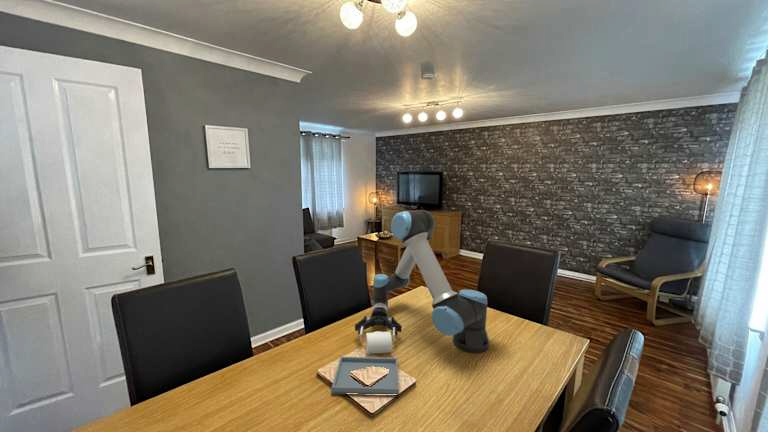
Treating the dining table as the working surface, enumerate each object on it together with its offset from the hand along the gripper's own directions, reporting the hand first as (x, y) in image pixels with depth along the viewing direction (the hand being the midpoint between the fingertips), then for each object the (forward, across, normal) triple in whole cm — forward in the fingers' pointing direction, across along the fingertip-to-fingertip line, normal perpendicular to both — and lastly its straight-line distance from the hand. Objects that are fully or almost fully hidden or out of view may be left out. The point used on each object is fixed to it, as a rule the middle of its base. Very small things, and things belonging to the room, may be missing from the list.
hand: (377, 337), depth 123 cm
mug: (-2, 0, -6) cm, 7 cm away
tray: (+16, +3, -6) cm, 18 cm away
